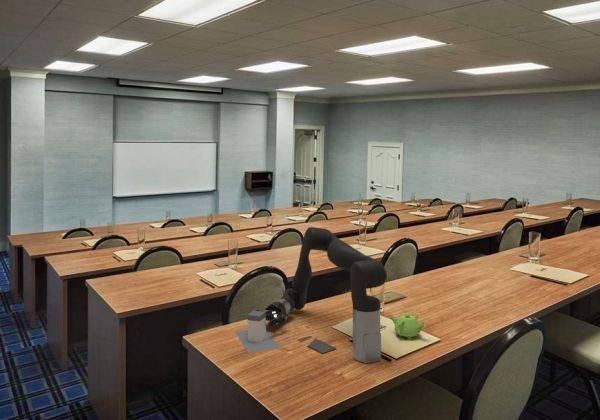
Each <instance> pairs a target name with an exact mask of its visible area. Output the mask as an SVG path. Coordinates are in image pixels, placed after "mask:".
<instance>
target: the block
mask: <svg viewBox="0 0 600 420" xmlns="http://www.w3.org/2000/svg"><path fill="white" fill-rule="evenodd" d="M246 316H247V330H248V341H252V342H259V343H260V342H262V341H263V340H264V339H265V338H266V329H267V323H266V322H267V321H266V312H263V311H260V310H259V311H256V310H252V311H251V312H250V313H248V314H247V315H246Z"/></svg>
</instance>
